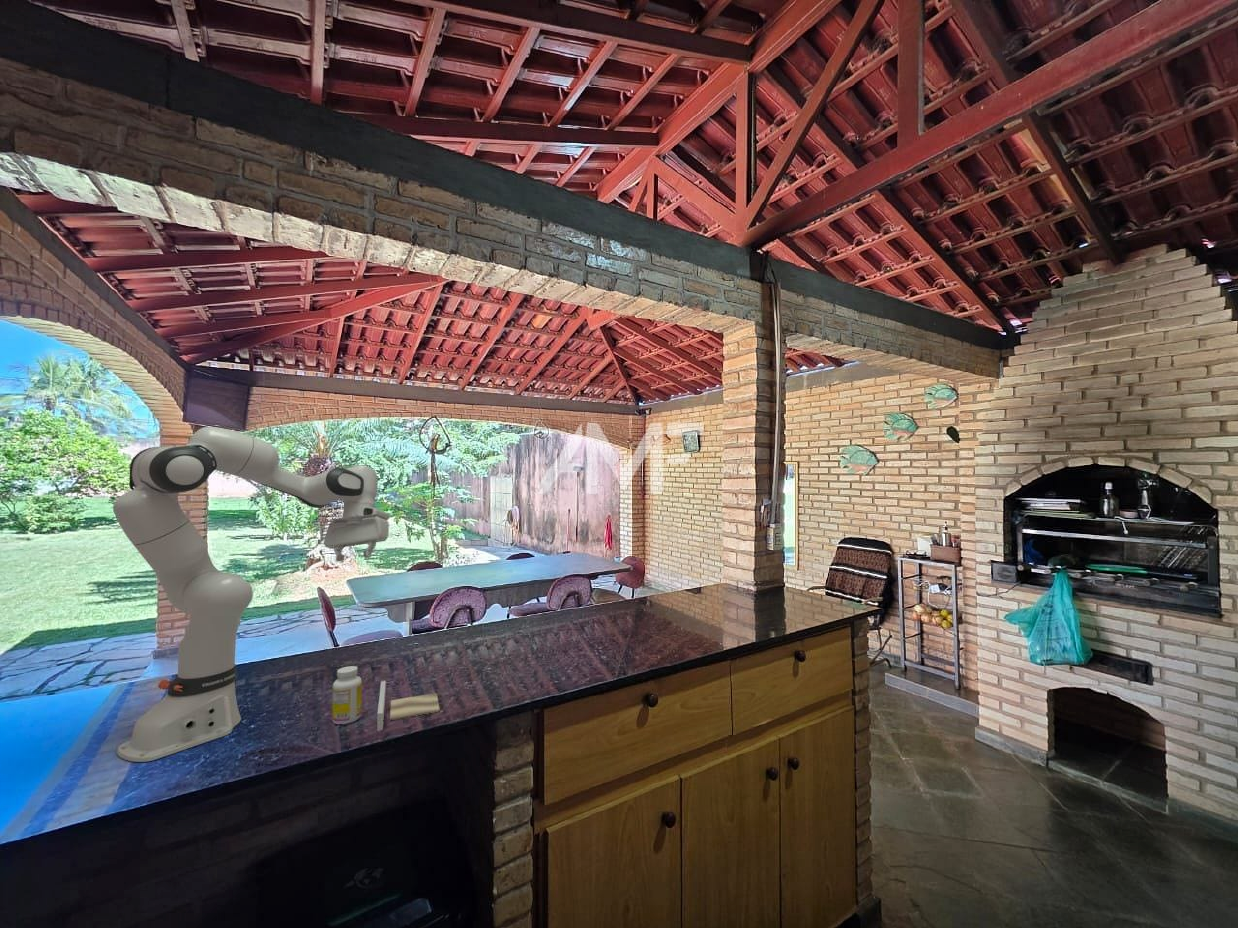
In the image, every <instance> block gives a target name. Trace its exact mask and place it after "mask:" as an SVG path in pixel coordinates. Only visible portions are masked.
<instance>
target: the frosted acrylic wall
mask: <svg viewBox="0 0 1238 928" xmlns="http://www.w3.org/2000/svg"><path fill="white" fill-rule="evenodd" d="M386 681H387V680H381V681H380V689H379V698H378V705H377V722H376V723H377V724H376V725H377V726H376V728H377V729H376V730H377V731H380V730H384V721H383V720H384V718H385V708H386V707H385V705H386V704H385V703H386V693H387V692H386V686H387V685H386ZM377 731H376V732H377Z"/></svg>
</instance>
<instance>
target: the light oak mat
mask: <svg viewBox="0 0 1238 928" xmlns="http://www.w3.org/2000/svg"><path fill="white" fill-rule="evenodd" d="M440 710H441V709H440V703H439V699H438V692H434V693H426V694H421V695H416V696H409V697H404V698H398V699H397V698H396V699H392V700H390V710H389V711H390V713H389V721H390V720H394V719H400V718H405V717H411V716H416V717H419V716H418V715H422V714H427V715H430V714H429V713H433V714H435V713H434V712H438V711H440ZM440 712H441V711H440ZM438 713H439V712H438ZM422 716H423V715H422ZM411 718H412V717H411ZM405 719H406V718H405ZM400 720H401V719H400Z"/></svg>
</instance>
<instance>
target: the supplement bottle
mask: <svg viewBox="0 0 1238 928" xmlns="http://www.w3.org/2000/svg"><path fill="white" fill-rule="evenodd" d="M358 670H359V669H358V666H355V665H351V666H345V667H343V666H342V667H341V668H339V669H338V670H337V672H336V677H337V679H336V680H335V681H334V682H333V684H332V705H331V706H332V709H331V710H332V711H331V712H332V713H331V714H332V716H331V717H332V718H331V719H332V722H333V723H334V724H336V725H340V724H342V725H346V724H347V725H348V724H350V723H353V722H355V721H357V720H359V719H360V718H361V717H362V709H363V708H362V707H363V706H362V703H363V702H362V699H363V698H362V693H363V691H362V687H363V683H362V681H363V680H362V678H361V677H360V676H358V675H357V674H358V672H359V671H358Z"/></svg>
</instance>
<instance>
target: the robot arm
mask: <svg viewBox="0 0 1238 928" xmlns="http://www.w3.org/2000/svg"><path fill="white" fill-rule="evenodd" d="M279 464H280V456H279V452H278V450H277V449H276V447H275V446H274V445H272V444H271V443H269V442H267V441H265V440H262V439H259V438H257V437H255V436H251V435H249V434H245V433H242V432H239V431H236V430H235V431H234V430H231V429H226V428H221V427H216V426H205V427H202V428H200V429H198V430H196V431H195V432H194V433H193V434H192V435H191V437H190V438H189V440H188V442H187V443H186V444H185V445H181V446H179V445H177V446H175V445H161V446H152V447H148V448H145V449H143V450H140V452H138V453H137V454H135V456H134V457H133V458H132V460H131V462H130V465H129V484H128V486H129V489H131V490H128V491H127V492H125V493H124V494H122V495H121V496H119V497H118V498H117V499H116V501H115V502H114V503H113V506H112V511H113V514H114V516H115V518H116V520H117V522H118V525H119V526H120V528H121V530H122V531H123V533H124V534H125V535H126V537H127V538H128V539H127V540H129V541H130V543H131V544H132V545H133V547H135V549H136V550H137V551H138V553H139V554H140V555H141V556H142V558H143V559H144V560H145V561H146V563H147V564H148V565H149V566H150V568H151V569H152V570H153V572H154V574H155V575H156V577H157V578H158V581H159V583H160V584H161V588H163V589H162V590H164V592H165V594H166V598H167V600H168V602H169V603H170V604H171V605H172V606H173V607H174V608H175V609H177V610H178V611H180V612H182V613H187V614H189V623H187V628H186V631H185V634H184V636H183V637H182V639H181V640H180V642H179V643H178V653H177V654H178V655H177V656H178V658H177V674H176V675H175V677H174V678H173V679H172V680H167V679H162V680H160V681H159V683H158V684H157V688H159V690H160V689H161V690H162V691H163V690H167V694H166V695H165V696H163V698H162V699H160V700H159V701H158V702H157V703H156V704H155V705H153V706H152V707H151V708H150V709H148V711H147V712H146V711H145V713H144V714H142V716H140V717H139V718H138V719H137V720H136V722H135V724H134V726H133V729H132V734H131V738H130V740H127V741H126V742H123V743H121V744H120V745H118V747H117V751H116V755H117V756H118V757H119V758H121V759H123V760H125V761H129V762H135V763H136V762H137V763H139V762H140V763H143V762H145V763H146V762H151V761H155V760H158V759H161V758H164V757H167V756H170V755H173V754H176V753H178V752H181V751H184V750H187V749H190V748H193V747H195V746H199V745H201V744H205V743H207V742H210V741H213V740H216V739H219V738H222V737H225V736H227V735H229V734H231V733H232V732H233V729H234V728H235V727H236V726H237V725H238V724H240V722H241V720H242V717H241V714H240V710H239V707H238V702H237V697H236V696H237V695H236V685H237V681H238V680H237V677H238V669H237V664H236V641H237V633H238V628H239V624H240V622H241V619H242V616H243V613H244V611H245V610H246V609H247V608H248V607H249V605H250V604H251V602H252V600H253V594H254V591H253V586H252V585H251V584H250V583H249V582H248V581H247V580H245V579H244V578H242V577H241V576H240V575H238V574H235V573H230V572H224V571H221V570H219V569H218V568H217V567H216V566H215V565H214V563H213V562H212V559H211V557H210V554H209V551H208V548H209V547H208V543H207V541H206V540H205V538H204V537H203V536H202V535H201V533H200V532H199V530H198V529H197V528H196V526H195V525H194V524H193V522H192V521H191V519H190V518H189V516H187V515H186V513H185V512H184V511H183V509H182V507H181V505H180V503H179V502H180V501H179V493H187V492H191V491H193V490H195V489H197V488H199V487H201V486H202V485H203V484H204V483H205V482H206V481H207V479H208V478H209V476H211V474H212V473H213V472H215V471H216V472H217V471H218V472H221V473H225V474H228V475H233V476H235V477H239V478H242V479H246V480H248V481H249V480H250V481H253V482H255V484H256V483H257V484H259V485H261V486H263V487H264V486H265V488H270V489H272V490H274V491H278V492H281V493H284V494H286V495H290V496H292V497H294V498H297V499H298V500H299V501H300V502H302V503H303V504H304V505H306V506H308V507H311V508H315V509H319V508H320V509H322V508H325V507H326V506H328V505H330V504H332V503H335V502H338V501H342V502H343V503H344V505H343V511H342V517H341V518H335V519H333V520H332V521H331V522H330V523H328V527H327V530H326V532H325V536H324V540H323V546H325V547H326V548H327V549H331V550H333V551H334V554H335V561H336V562H344V561H345V555H344V554H342V551H343V549H344V548H346V547H347V548H348V547H352V546H353V547H355V546H360V545H368V546H367V548H366V549H365V550H363V554H362V557H363V558H366V559H367V558H371V557H372V552H373V551H374V549H375V548H376V546H377V543H382V542H385V541H386V540H387V539H388V537H389V532H390V531H389V530H390V529H389V528H390V524H389V521H388V519H389V517H390V516H389V515H390V514H389V513H388V512H386V511H383V510H381V509H378V508H376V503H375V500H376V497H377V493H378V483H379V482H378V480H379V479H378V474H377V472H376V470H375V469H374V468H372V467H370V466H368V465H365V464H357V465H354V466H351V467H345V468H344V467H333V468H331V469H328V470H325V471H324V472H323V471H322V472H321V473H319V474H316V475H313V476H302V475H299V474H296V473H293V472H292V471H289V470H286V469H284V468H281V467H280V466H279Z"/></svg>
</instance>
